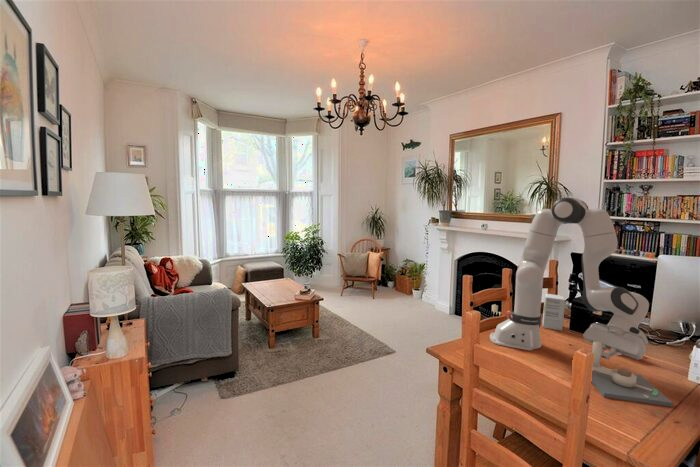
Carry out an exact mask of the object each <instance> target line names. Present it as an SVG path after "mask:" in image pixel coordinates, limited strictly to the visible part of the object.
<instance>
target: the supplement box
mask: <svg viewBox="0 0 700 467" xmlns="http://www.w3.org/2000/svg"><path fill="white" fill-rule="evenodd" d="M565 307H566V299H565V296H564V295H559V294H554V293H553V294H552V293H551V294H550V293H544V300H543V311H542V320H541V323H542V328H544V329H549V330H556V331H563V328H564V318H565V315H564V314H565Z"/></svg>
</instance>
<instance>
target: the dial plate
mask: <svg viewBox="0 0 700 467" xmlns="http://www.w3.org/2000/svg"><path fill="white" fill-rule="evenodd" d="M633 374H634V375H635V376H636V377H637V378H636V385H639V386H643V387H646V388H649V389H652V391H649V390H646V389H643V388H640V387H637V386H635V387H633V388H630V387H624V386H621V385H618V384H616V383H614V382H613V381H612V376H611V375H608V374H605V373H601V372H598V371H595V370H593V371H592V383H591V384H592V385H593V386H594V388H596V390H597V391H598V392H599V393H600V395H601V396H602V397H603V398H607V399H615V400H620V401H626V402H627V401H629V402H635V403H643V404H648V405H654V406H655V405H656V406H663V407H671V408H673V405H674V402H673V401H672V400H670V399H669V398H668V397H667V396H666V395H664V394H663V392H662V391H660V390H659V389H658V388H657V387H656V386H654V385H653V384H652V383H651V382H649V381H648V380H647V379H646V378H645V377H644V376H642V375H641V374H637V373H633Z"/></svg>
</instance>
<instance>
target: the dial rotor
mask: <svg viewBox="0 0 700 467" xmlns="http://www.w3.org/2000/svg"><path fill="white" fill-rule="evenodd" d="M591 348H592V350H591V354H592V353H593V354H594V362H593V370H595V371H598V372H601V373H605V374H608V375H611V376H612V381H613V382H614V383H616V384H618V385H621V386H624V387H630V388H633V387H635V386H637V387H640V388H643V389H646V390H649V391H652V389H649V388H646V387H643V386H639V385H636V378H637V377H636V376H635V375H634V374H635V373H632V371H629V370H628V369H624V368H618V369H611V368H608V367H605V366H602V365H601V358H602V357H601V348H602V343H601V342H597V341H593V343H592V347H591Z"/></svg>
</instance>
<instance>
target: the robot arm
mask: <svg viewBox="0 0 700 467" xmlns="http://www.w3.org/2000/svg"><path fill="white" fill-rule="evenodd" d="M566 224H568V225H571V224H577V225H578V226H579V228H580V229H581V232H582V237H583V240H584V241H583V242H584V246H583V247H584V249H583V252H582V253H581V254H582V255H581V260H580V261H581V273H582V274H581V276H582V284H583V285H582V286H583V288H582V289H583V290H582V302H583V305H584V306H585V307H586V308H587V309H588V310H589V311H592V312H596V313H597V312H611V313H612V314H613V316H611V319H610V320H609V322H608V323H607V324H605V323H600V322H592V323H590V325H589V327H588V328H587V329H586V330H585V331H584V333H583V338H584V340H585V341H586V342H587V343H590V344H593V341H597V342H601V343H602V348H601V357H600V358H603V359H604V360H610V359H611V357H613V356H617V355H616V354H617V352H618V353H620V354H622V355H624V356H627V357H629V358H632V359H634V360H641V359H642V358H643V357H644V356H645V354H646V350H647V345H648V343H649V340H648V338H647V336H646V335H645V333H644V332H643V330H641V329H639V326H640V325H641V323H643V321H644V320H645V318H646V316H647V315H648V311H649V307H650V303H649V300H648V299H647V298H646V297H644V295H641V294H640V293H636V292H630V291H629V290H628V289H627V288H625V287H622V286H606V287H605V286H603V287H602V286H601V285H600V275H599V274H600V272H599V267H600V264H601V262H603V261H604V260H605V259H607V258H609V257H610V256H612V255H613V254H614V253H615V251H616V250H617V248H618V236H617V233H616V230H615V226H614V223H613V221H612V218H611V216H610V214H609V213H608V211H607V210H605V209H602V208H590V209H589V206H588V205H587V203H586V202H585V201H583V200H582V199H579V198H575V197H562V198H559V199H557V200H556V201H554V202H553V204H552V206H551V209H550V208H543V209H539V210H538V211H537V212H536V213H535V215H534V217H533V220H532V221H531V224H530V227H529V228H528V229H529V230H528V234H527V237H526V240H525V244H524V246H523V249H522V250H523V251H522V255H521V256H520V257H521V258H520V261H519V265H518V268H517V270H516V272H515V292H514V293H515V295H514V305H513V306H514V308H513V309H514V310H513V311H511V310H507V311H506V314H507V315H508V319H506V320H503V321H502V322H500V323H498V324H497V325H496V328H495V330H494V332H490V334H489V340H490V341H491V343H493V344H495V345H498V346H504V347H508V348H513V349H514V348H515V349H520V350H523V351H524V350H526V351H533V350H535V349H537V350H538V349H540V348H541V347H542V340H541V333H540V328H541V323H542V315H541V310H542V309H541V308H542V297H543V295H542V294H543V287H544V286H543V285H544V276H545V275H544V274H545V271H546V267H547V264H548V262H549V258H550V256H551V253H552V249H553V246H554V243H555V240H556V236H557V234H558V230H559V229H560V227H561V225H566ZM607 350H610V351H609V352H605V351H607Z"/></svg>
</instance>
